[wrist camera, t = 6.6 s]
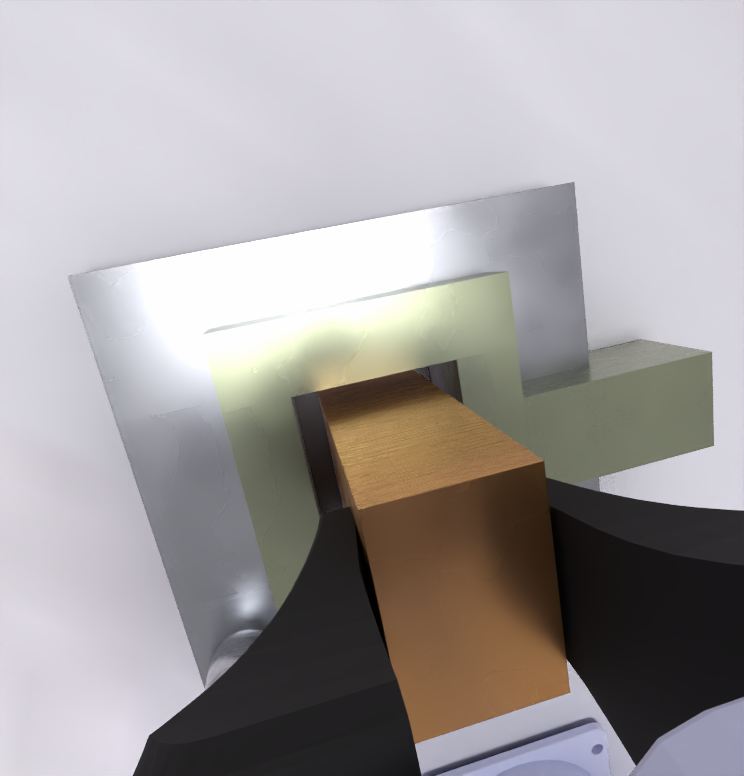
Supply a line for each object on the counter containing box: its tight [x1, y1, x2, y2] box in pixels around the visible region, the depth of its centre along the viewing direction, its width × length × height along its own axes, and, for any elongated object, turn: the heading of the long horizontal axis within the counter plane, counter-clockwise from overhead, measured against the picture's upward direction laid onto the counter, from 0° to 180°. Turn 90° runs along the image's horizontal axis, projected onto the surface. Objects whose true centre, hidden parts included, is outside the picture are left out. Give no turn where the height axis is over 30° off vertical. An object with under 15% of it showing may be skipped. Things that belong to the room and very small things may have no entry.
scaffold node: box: [68, 182, 714, 690], centre depth 15 cm, size 14×17×4 cm
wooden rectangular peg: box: [317, 370, 570, 743], centre depth 12 cm, size 4×3×8 cm, turn 11°
